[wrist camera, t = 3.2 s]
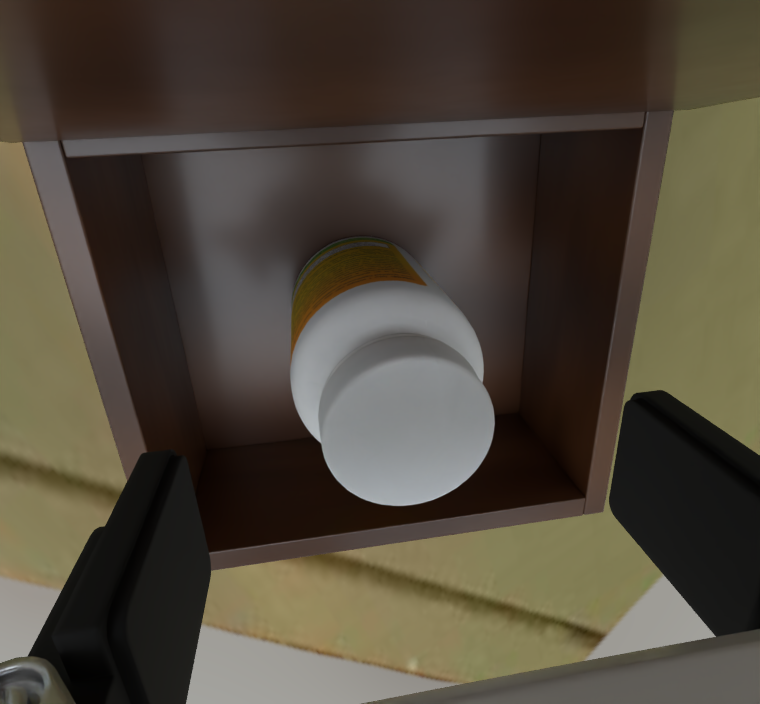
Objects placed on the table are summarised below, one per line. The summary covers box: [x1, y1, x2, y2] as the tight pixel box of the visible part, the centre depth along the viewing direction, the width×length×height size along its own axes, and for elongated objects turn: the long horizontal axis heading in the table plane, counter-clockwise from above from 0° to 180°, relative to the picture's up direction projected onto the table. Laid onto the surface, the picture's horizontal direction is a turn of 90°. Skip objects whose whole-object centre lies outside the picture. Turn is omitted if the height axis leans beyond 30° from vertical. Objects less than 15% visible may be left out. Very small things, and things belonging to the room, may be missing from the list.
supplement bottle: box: [290, 236, 495, 506], centre depth 16 cm, size 5×5×10 cm
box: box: [22, 110, 674, 571], centre depth 18 cm, size 14×16×7 cm
